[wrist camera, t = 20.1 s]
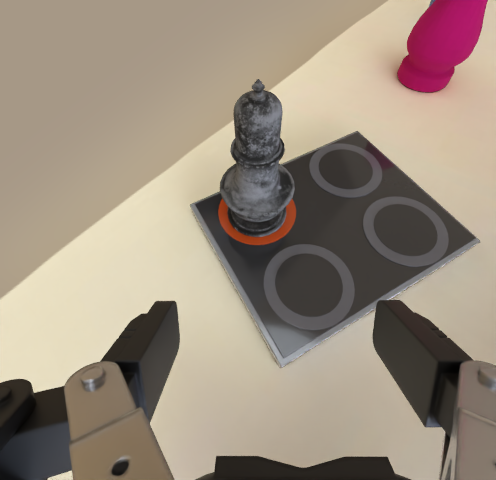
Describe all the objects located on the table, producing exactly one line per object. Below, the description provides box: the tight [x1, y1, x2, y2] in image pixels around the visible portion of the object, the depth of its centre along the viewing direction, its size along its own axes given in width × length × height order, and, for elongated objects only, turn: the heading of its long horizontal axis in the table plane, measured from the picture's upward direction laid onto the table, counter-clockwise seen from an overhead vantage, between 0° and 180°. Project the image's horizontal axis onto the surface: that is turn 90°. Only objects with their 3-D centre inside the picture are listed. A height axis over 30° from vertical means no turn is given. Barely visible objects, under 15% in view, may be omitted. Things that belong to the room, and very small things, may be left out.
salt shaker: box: [220, 79, 295, 237], centre depth 20 cm, size 6×6×12 cm
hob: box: [190, 131, 480, 368], centre depth 25 cm, size 20×16×2 cm
